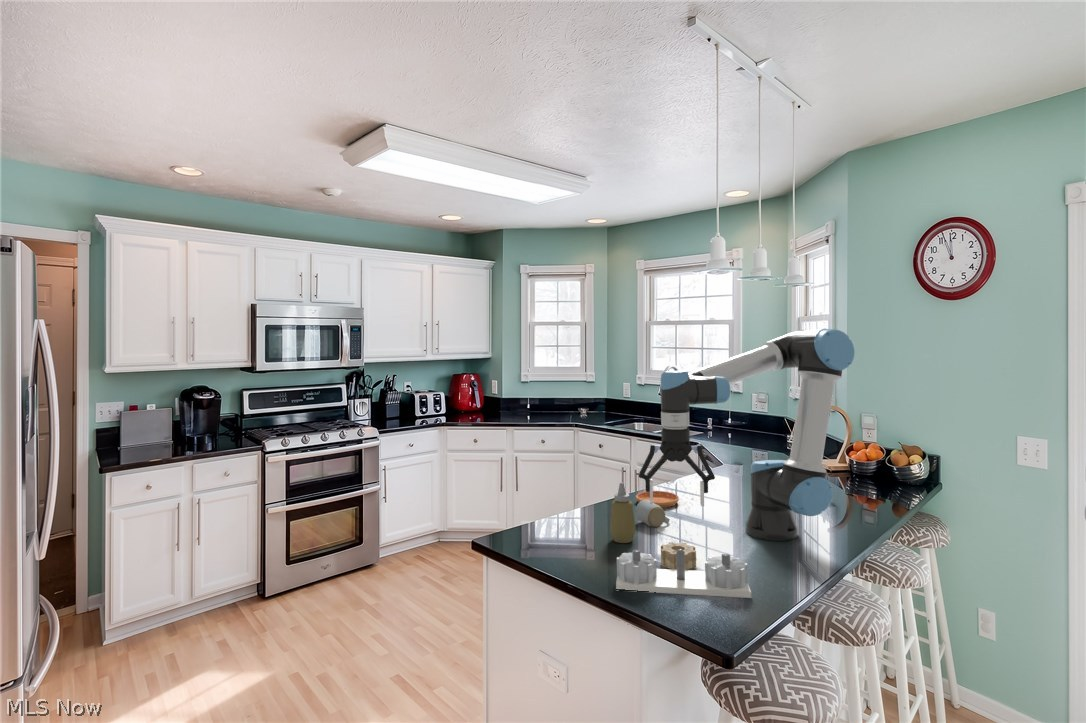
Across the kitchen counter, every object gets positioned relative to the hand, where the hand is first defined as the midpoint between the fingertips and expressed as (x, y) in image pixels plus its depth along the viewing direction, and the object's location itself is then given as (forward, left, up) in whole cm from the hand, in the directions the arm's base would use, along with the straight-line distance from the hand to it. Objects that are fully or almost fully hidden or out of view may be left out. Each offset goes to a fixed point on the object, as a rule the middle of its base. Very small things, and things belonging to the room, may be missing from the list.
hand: (676, 504), depth 154 cm
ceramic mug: (+6, -34, -17) cm, 39 cm away
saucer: (+5, -59, -17) cm, 61 cm away
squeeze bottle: (+16, -17, -17) cm, 29 cm away
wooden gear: (0, 0, -17) cm, 17 cm away
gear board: (0, +13, -17) cm, 21 cm away
